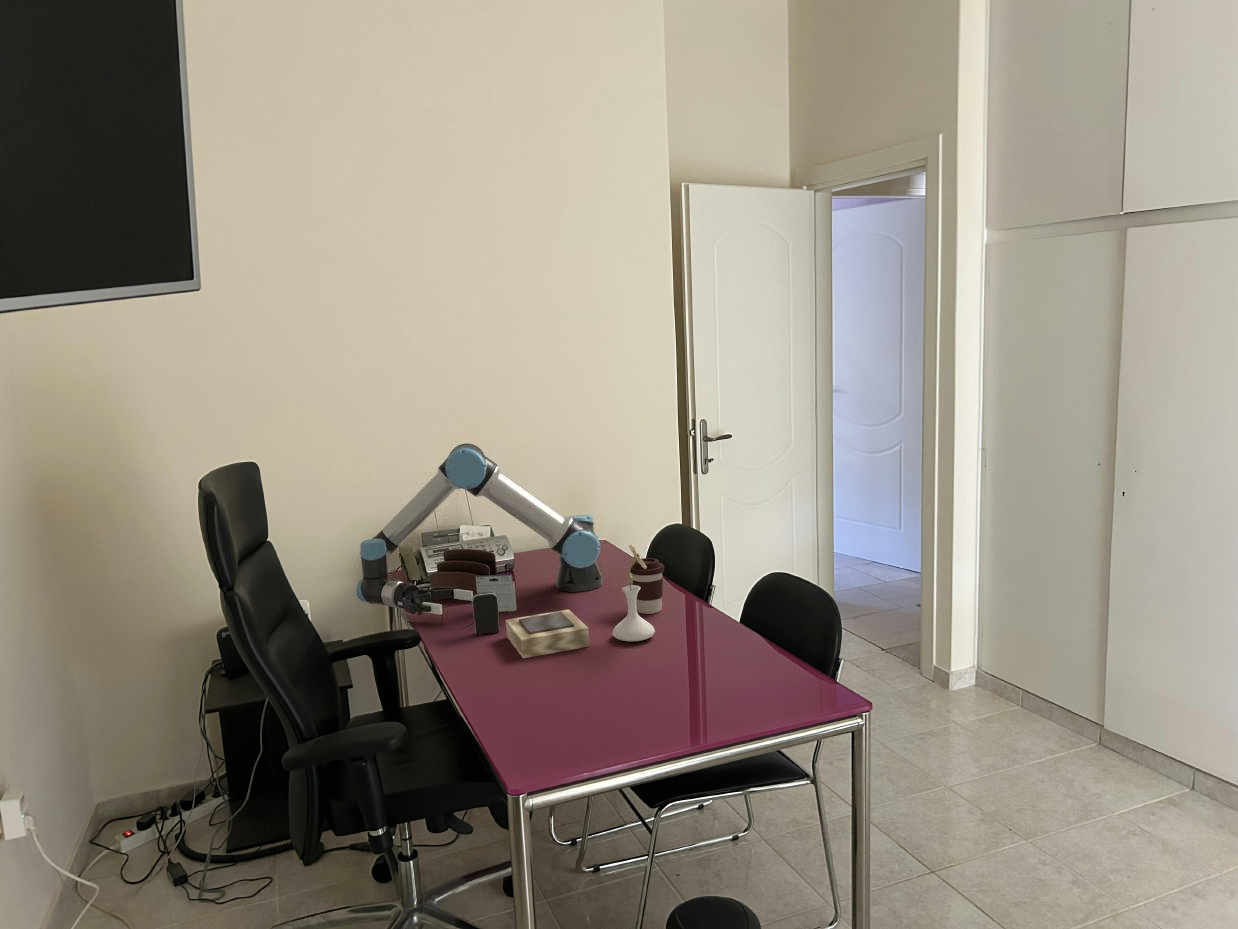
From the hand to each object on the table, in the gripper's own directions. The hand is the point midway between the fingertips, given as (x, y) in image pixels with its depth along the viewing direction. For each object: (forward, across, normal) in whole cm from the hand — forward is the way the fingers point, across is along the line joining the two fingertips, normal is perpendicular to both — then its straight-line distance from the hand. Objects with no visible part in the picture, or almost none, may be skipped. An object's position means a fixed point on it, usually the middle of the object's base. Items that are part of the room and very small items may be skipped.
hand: (457, 602), depth 259 cm
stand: (+31, 0, -7) cm, 31 cm away
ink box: (+1, -17, -8) cm, 19 cm away
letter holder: (-21, -28, -8) cm, 36 cm away
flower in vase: (+51, -12, -7) cm, 53 cm away
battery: (+10, 0, -8) cm, 13 cm away
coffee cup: (+44, -33, -7) cm, 55 cm away
